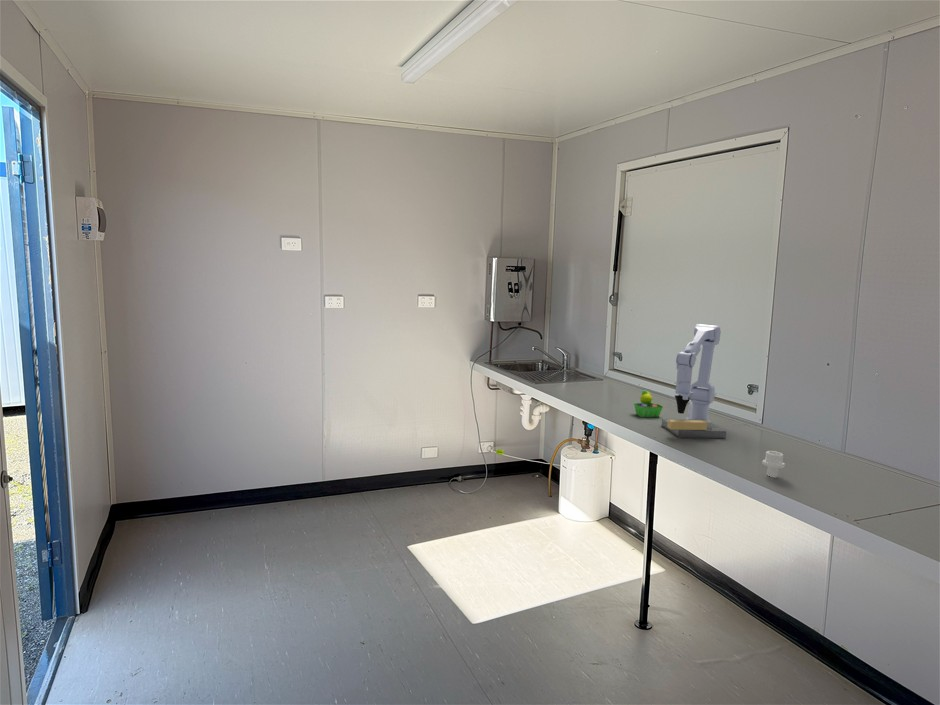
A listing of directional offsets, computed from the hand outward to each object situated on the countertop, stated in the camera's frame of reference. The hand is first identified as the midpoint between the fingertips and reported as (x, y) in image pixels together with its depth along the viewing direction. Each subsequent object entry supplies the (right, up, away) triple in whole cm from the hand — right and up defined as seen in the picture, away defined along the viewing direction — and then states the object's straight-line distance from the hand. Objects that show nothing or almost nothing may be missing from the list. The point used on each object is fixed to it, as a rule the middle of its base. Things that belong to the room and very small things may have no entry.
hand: (680, 413), depth 263 cm
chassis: (+6, -8, +3) cm, 11 cm away
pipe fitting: (+14, -17, -50) cm, 54 cm away
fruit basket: (-6, -4, +29) cm, 30 cm away
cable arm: (+2, -6, -6) cm, 8 cm away
